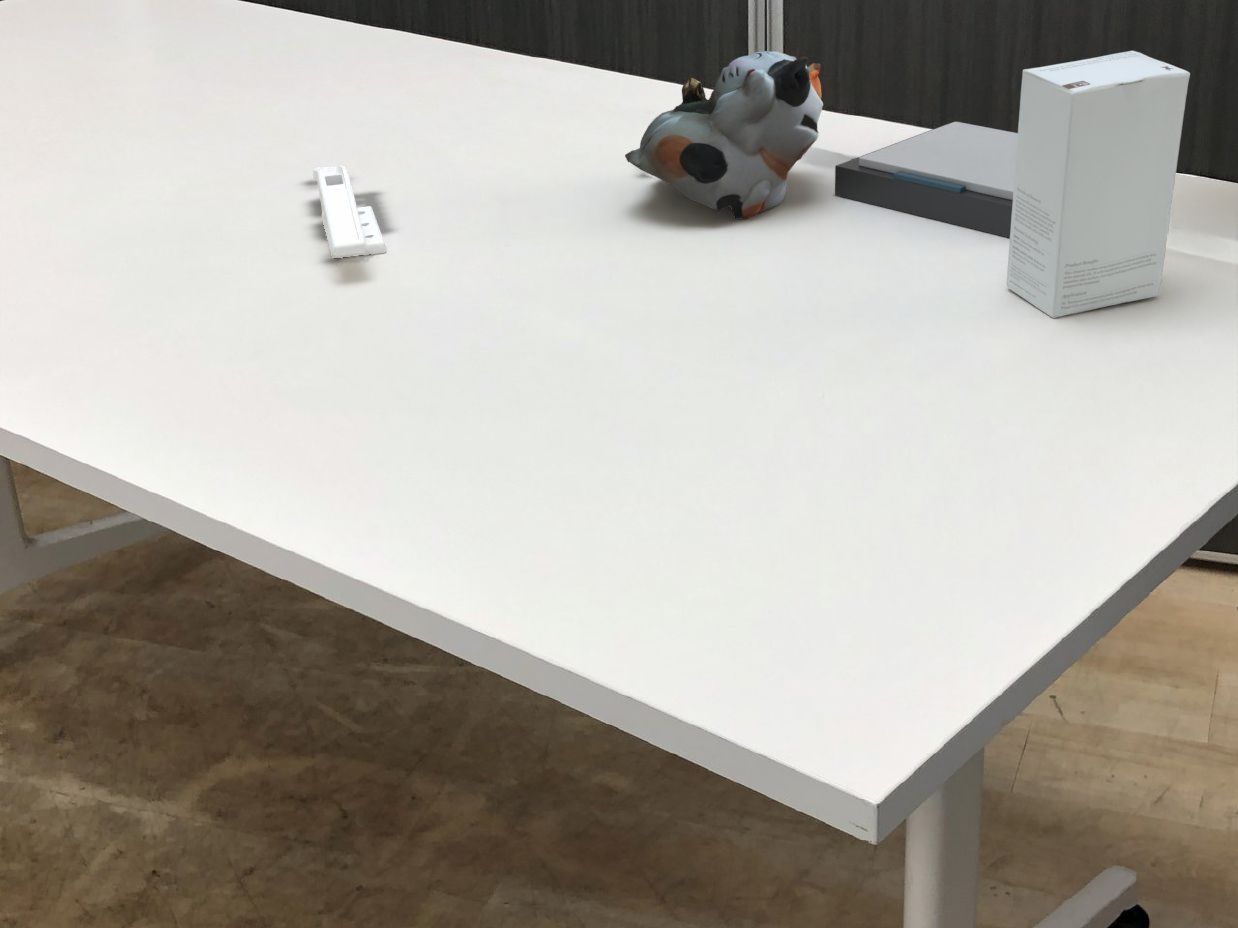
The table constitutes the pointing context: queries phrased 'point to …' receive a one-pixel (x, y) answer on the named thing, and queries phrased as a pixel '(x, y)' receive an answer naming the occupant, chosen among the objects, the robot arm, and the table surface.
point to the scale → (940, 176)
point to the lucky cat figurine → (737, 134)
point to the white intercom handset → (346, 216)
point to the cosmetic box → (1094, 181)
